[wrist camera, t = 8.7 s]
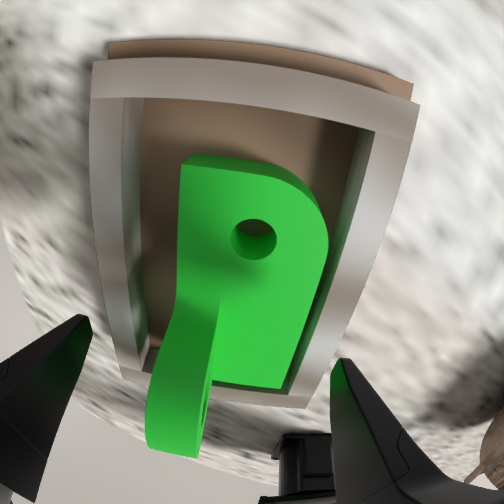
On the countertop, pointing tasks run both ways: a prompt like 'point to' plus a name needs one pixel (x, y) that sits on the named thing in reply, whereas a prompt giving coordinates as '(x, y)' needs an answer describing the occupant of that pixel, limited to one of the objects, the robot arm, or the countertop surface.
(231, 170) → the mechanical part
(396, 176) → the keyed nest
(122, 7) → the countertop surface
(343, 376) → the robot arm
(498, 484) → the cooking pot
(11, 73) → the countertop surface
